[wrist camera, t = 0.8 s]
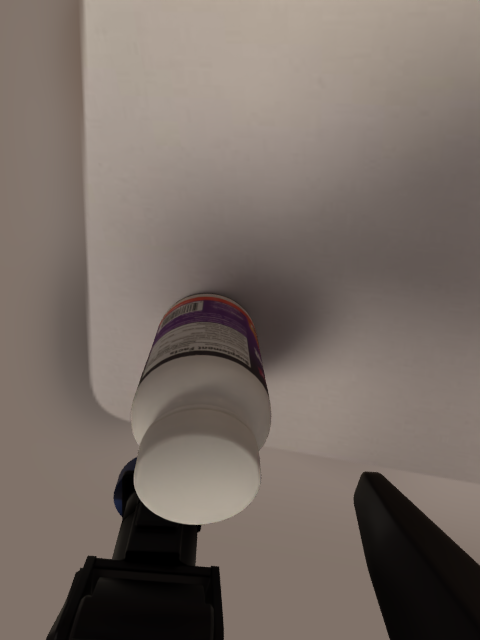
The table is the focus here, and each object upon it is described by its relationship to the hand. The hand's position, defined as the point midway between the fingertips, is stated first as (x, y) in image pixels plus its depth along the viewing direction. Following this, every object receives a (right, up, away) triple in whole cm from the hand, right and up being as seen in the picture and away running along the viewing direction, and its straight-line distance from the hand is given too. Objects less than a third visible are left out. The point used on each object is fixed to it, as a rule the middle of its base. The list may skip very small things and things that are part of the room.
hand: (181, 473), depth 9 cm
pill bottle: (0, +3, +11) cm, 12 cm away
